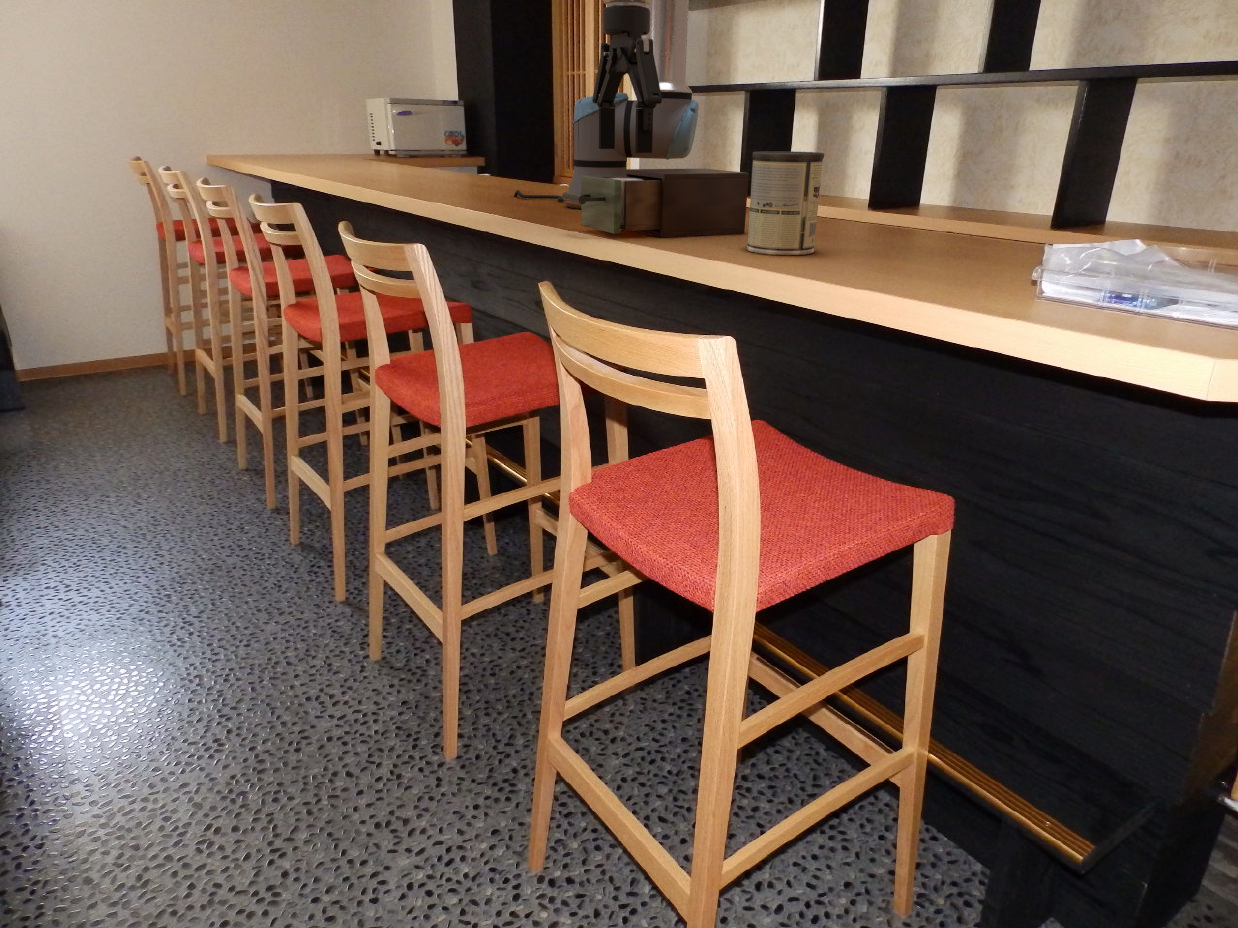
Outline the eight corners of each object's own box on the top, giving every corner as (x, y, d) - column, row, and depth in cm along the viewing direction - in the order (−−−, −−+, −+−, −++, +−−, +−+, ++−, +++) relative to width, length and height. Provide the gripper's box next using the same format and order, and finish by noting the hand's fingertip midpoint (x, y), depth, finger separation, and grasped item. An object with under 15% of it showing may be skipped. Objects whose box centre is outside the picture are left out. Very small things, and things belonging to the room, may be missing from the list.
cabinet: (662, 237, 140) (664, 174, 137) (624, 228, 152) (625, 169, 148) (744, 233, 147) (748, 173, 144) (702, 225, 159) (704, 168, 155)
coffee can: (744, 245, 133) (751, 150, 128) (810, 247, 132) (819, 152, 127) (747, 254, 124) (754, 152, 118) (818, 256, 123) (828, 154, 117)
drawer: (586, 235, 135) (586, 180, 132) (555, 226, 145) (554, 175, 142) (695, 230, 143) (697, 179, 140) (658, 222, 154) (659, 174, 151)
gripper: (572, 12, 140) (573, 147, 149) (642, -3, 120) (639, 155, 128) (613, 15, 144) (611, 147, 152) (687, 0, 123) (681, 154, 131)
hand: (624, 151), depth 140 cm, fingers open, 13 cm apart
